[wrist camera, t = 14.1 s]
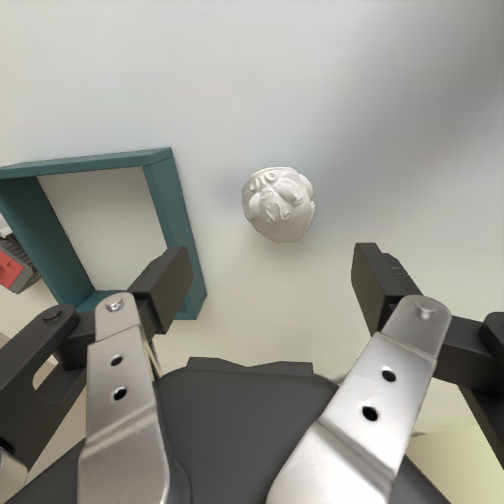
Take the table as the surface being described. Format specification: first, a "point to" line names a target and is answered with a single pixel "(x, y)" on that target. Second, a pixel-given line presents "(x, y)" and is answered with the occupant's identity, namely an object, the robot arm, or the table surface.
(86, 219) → the table surface
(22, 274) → the walkie-talkie
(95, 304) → the open box
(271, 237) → the white rounded figurine
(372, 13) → the table surface
